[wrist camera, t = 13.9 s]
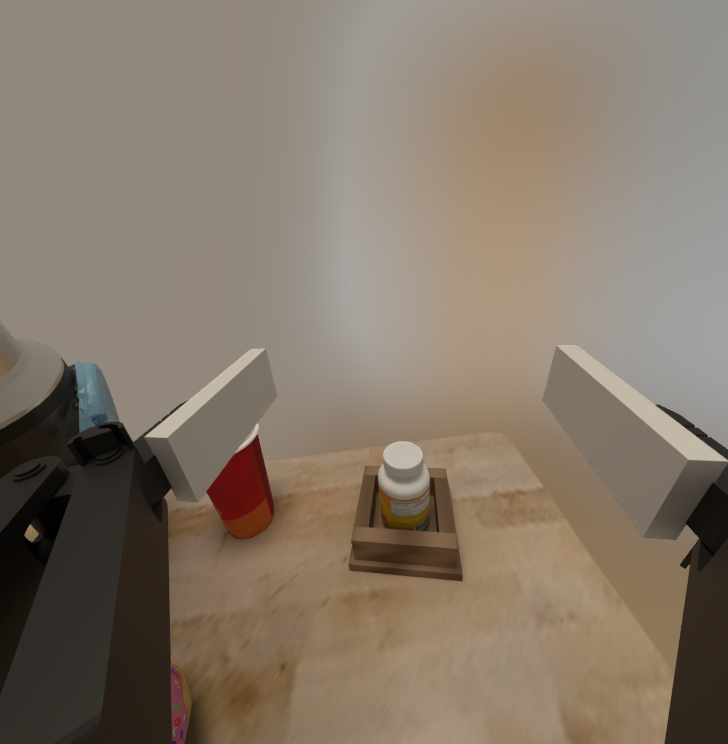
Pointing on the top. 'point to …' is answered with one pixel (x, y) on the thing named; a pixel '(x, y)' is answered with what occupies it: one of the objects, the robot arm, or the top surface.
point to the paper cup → (244, 490)
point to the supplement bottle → (404, 488)
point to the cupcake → (180, 704)
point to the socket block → (406, 535)
